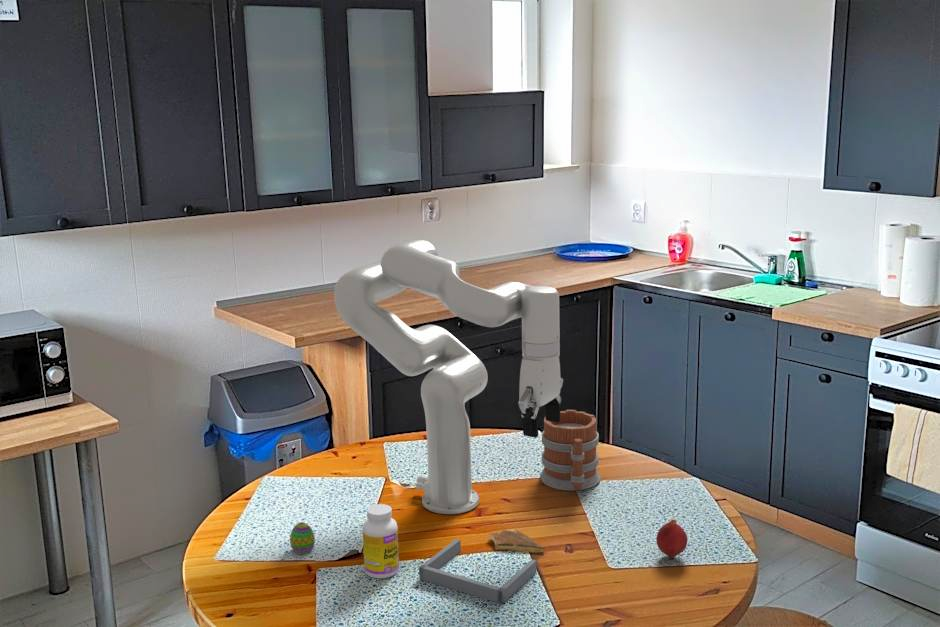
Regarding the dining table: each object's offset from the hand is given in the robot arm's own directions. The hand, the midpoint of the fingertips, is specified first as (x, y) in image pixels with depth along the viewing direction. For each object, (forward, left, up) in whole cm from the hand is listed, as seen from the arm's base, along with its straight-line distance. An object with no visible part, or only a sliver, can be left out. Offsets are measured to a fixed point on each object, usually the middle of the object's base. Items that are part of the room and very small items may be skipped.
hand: (542, 428), depth 197 cm
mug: (-3, +21, -21) cm, 30 cm away
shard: (0, -10, -22) cm, 24 cm away
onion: (+29, -1, -21) cm, 36 cm away
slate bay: (0, -25, -21) cm, 33 cm away
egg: (-36, -34, -21) cm, 54 cm away
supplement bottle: (-17, -33, -21) cm, 43 cm away
